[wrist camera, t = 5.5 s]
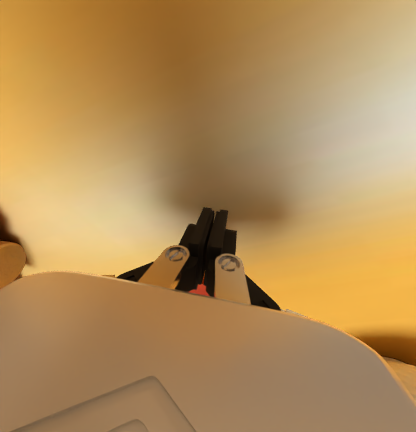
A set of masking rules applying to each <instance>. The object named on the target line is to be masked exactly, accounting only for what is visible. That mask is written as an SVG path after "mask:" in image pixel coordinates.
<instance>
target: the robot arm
mask: <svg viewBox="0 0 416 432" xmlns="http://www.w3.org/2000/svg"><path fill="white" fill-rule="evenodd" d="M227 215H228V211H227V210H220V212H219V211H217V212H216V216H215V219H214V211H212V208H205V207H204V208H203V210H202V212H201V215H200V217H199V219H198V222H197V224H196V225H195V224H189V225H188V227H187V229H186V231H185V233H184V235H183V237H182V239H181V241H180V243H179V245H173V246H170V247H168V248H166V249H165V250H164V251H163V252H162V253H161V255H160V256H159V257H158V258H157V259H156V260H155V261H154V262H152V263H149V264H146V265H144V266H141V267H139V268H136V269H133V270H131V271H128V272H126V273H123V274H121V275H119V276H118V277H115V275H95V274H89V273H82V272H72V271H51V272H43V273H37V274H32V275H28V276H25V277H22V278H19V279H17V280H15V281H13V282H11V283H10V284H8V285H6V286H4V287H3V288H1V289H0V432H416V402H415V400H414V398H413V397H412V396H411V394H410V393H409V391H408V390H407V388H406V387H405V385H404V384H403V382H402V381H401V380H400V378H399V377H398V376H397V374H396V373H395V372H394V370H393V369H392V368H391V367H390V366H389V364H388V363H387V362H386V361H385V360H384V359H383V358H382V357H381V356H380V355H379V354H378V353H377V352H376V351H375V350H373V349H372V348H371V347H369V346H368V345H367V344H365V343H364V342H362V341H360V340H359V339H357V338H356V337H354V336H352V335H350V334H348V333H346V332H344V331H342V330H340V329H338V328H336V327H333V326H331V325H329V324H326V323H324V322H321V321H318V320H314V319H311V318H308V317H306V316H303V315H301V314H298V313H296V312H293V311H291V310H288V309H286V311H284V310H282V309H280V307H279V306H278V305H277V304H276V302H275V301H273V300H272V299H271V298H270V297H269V296H268V295H267V294H266V293H265V292H264V291H263V290H262V289H261V288H259V287H258V286H257V285H256V284H255V283H254V282H253V281H252V280H251V279H250V278H249V277H248V276H247V275H246V274H245V272H244V267H243V263H242V261H241V260H240V258H238V257H237V256H235V252H236V235H237V231H234V230H228V229H226V222H227ZM213 222H214V223H213ZM204 272H205V276H204ZM203 276H204V286H206V292H207V293H208V295H209V296H205V295H200V294H195V293H190V292H189V291H191V290H193V289H194V290H197V286H198V284H199V285H201V284H202V280H203Z"/></svg>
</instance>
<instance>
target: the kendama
mask: <svg viewBox="0 0 416 432" xmlns="http://www.w3.org/2000/svg"><path fill="white" fill-rule="evenodd" d="M25 262H26V254H25V253H24V250H23V248H22V246H21V245H19V244H17V243H12V242H7V241H0V289H1V288H3V287H4V286H6V285H8V284H10V283H11V282H12V281H14V280H15V279H16V278H17V277H18V275H19V274H20V273H21V271H22V270H23V268H24V265H25Z"/></svg>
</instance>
